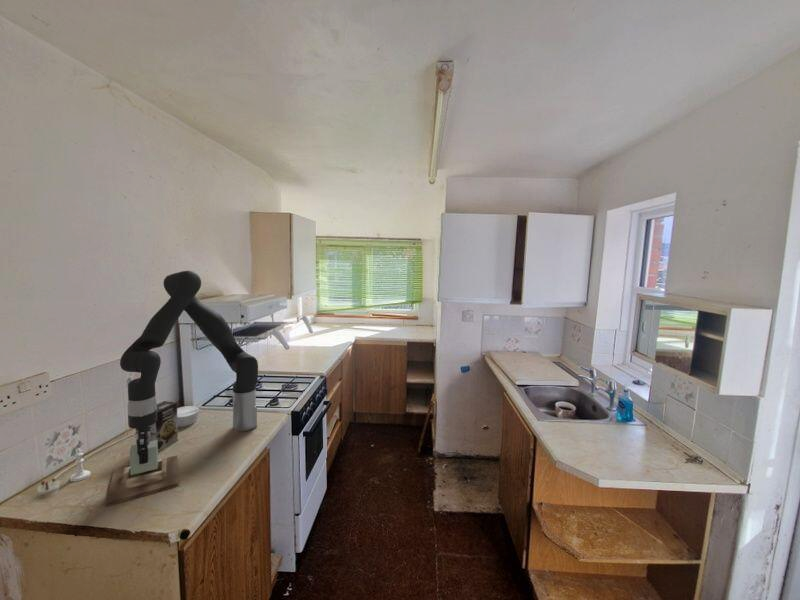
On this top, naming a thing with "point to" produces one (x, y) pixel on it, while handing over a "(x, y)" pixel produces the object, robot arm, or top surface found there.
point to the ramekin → (187, 415)
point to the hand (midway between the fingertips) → (144, 458)
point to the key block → (152, 459)
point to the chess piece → (79, 468)
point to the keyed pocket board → (143, 481)
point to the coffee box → (165, 425)
